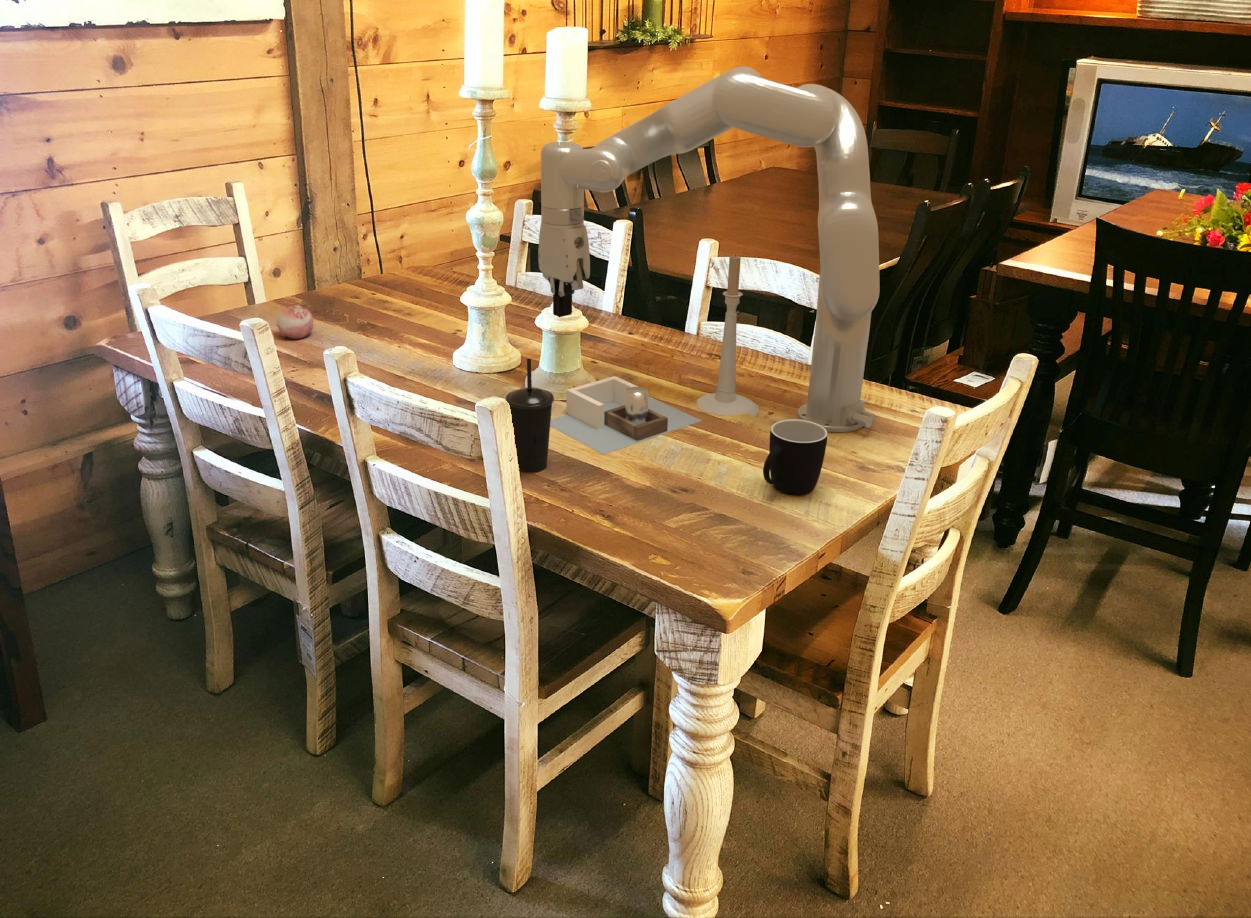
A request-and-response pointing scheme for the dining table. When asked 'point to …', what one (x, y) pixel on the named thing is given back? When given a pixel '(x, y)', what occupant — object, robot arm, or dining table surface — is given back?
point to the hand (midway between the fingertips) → (562, 314)
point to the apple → (295, 322)
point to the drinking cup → (531, 424)
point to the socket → (632, 430)
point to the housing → (595, 399)
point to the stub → (636, 405)
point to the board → (610, 438)
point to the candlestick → (729, 357)
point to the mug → (795, 456)
